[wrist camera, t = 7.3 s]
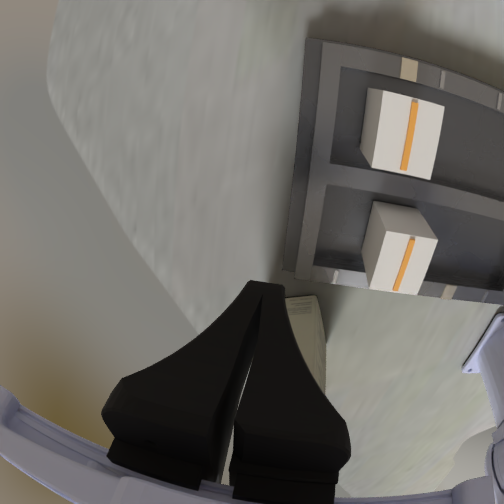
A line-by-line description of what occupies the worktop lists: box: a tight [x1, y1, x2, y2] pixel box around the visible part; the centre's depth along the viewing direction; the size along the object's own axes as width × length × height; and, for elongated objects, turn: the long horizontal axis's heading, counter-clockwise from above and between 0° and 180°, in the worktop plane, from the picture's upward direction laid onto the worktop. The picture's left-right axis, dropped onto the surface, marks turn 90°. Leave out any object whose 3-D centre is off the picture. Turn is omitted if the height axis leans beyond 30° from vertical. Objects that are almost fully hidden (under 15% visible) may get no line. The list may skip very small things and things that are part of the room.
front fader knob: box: [359, 88, 445, 180], centre depth 14 cm, size 3×4×4 cm
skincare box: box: [252, 295, 326, 394], centre depth 21 cm, size 6×4×12 cm
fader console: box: [282, 38, 504, 305], centre depth 17 cm, size 19×15×2 cm
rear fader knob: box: [361, 201, 438, 295], centre depth 17 cm, size 3×4×4 cm
